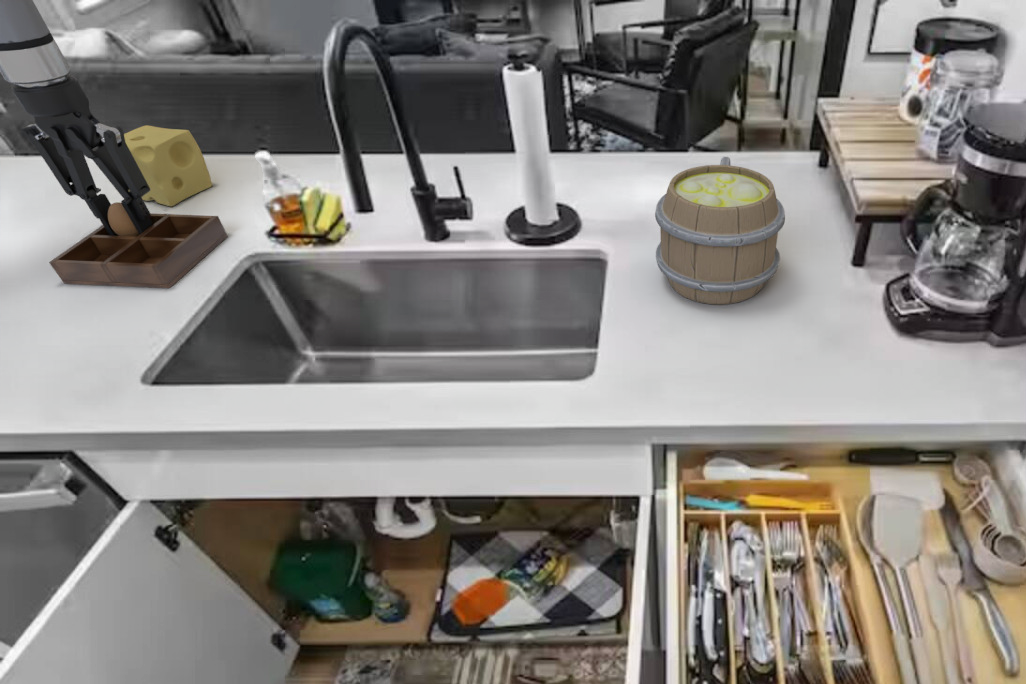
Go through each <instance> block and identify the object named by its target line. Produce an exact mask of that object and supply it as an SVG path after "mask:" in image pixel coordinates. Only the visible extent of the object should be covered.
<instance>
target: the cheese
mask: <svg viewBox="0 0 1026 684" xmlns="http://www.w3.org/2000/svg"><path fill="white" fill-rule="evenodd" d="M124 137H125V142H126V144H127V146H128V148H129V150H130V152H131V154H132V156H133V157H134V159H135V161H136V163H137V165H138V167H139V169H140V170H141V172H142V174H143V176H144V178H145V180H146V182H147V184H148V185H149V187H150V192H148V193H147V194H145V195H144V196H142V199H143V201H147V202H149V201H155V202H156V203H157V204H159V205H164V206H167V207H173V206H176V205H177V204H179V203H181V202H182V201H185V200H186V199H187V198H190V197H192V196H194V195H197V194H199V193H201V192H203V191H204V190H207V189H210V188H211V187H213V186H214V185H213V182H212V179H211V176H210V172H209V169H208V166H207V163H206V160H205V158H204V155H203V153H202V150H201V148H200V146H199V145H198V143H197V141H196V139H195V138H194V136H193V134H192V133H191V132H190V130H188V129H177V128H175V129H174V128H164V127H159V126H154V125H148V124H147V125H142V126H139V127H137V128H135V129H132V130H130V131H128V132H126V133H125V132H124ZM129 191H130V190H129Z"/></svg>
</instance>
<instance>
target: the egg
mask: <svg viewBox="0 0 1026 684" xmlns="http://www.w3.org/2000/svg"><path fill="white" fill-rule="evenodd" d="M108 221H109V224H110V226H111V228H112V229H113V231H114V232H115V233H116V234H118V235H119V236H133V237H137V236H139V235H140V234H139V233H138V231H137V229H136V228H135V226H134V224H133V222H132V221H131V219H130V217H129V216H128V214H127V212H126V211H125V209H124V207H123V205H122V204H121V201H120V202H112V203H111V205H110V207H109V209H108Z"/></svg>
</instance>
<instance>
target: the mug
mask: <svg viewBox="0 0 1026 684" xmlns="http://www.w3.org/2000/svg"><path fill="white" fill-rule="evenodd" d="M654 218H655V221H656V223H657V224H658V226H659V227H660V241H659V244H658V245H657V246H656V249H655V260H656V264H657V267H658V269H659V270H660V271H661V273H662V274H663V275H664V276H665V277H666V278H667V279H668V282H669V285H670V286H671V288H672V289H673V290H674V291H675V292H676V293H677V294H678V295H679V296H681V297H683V298H685V299H687V300H690V301H693V302H697V303H700V304H706V305H715V306H716V305H719V306H721V305H723V306H724V305H732V304H736V303H737V304H738V303H741V302H744V301H748V300H749V299H751V298H753V297H754V296H756V295H757V294H758V293H759V292H760V291H761V290H762V288H763V286H764V284H765V283H766V282H767V281H768V280H770V279H771V278H772V277H773V276H774V275H775V274H776V272H777V270H778V267H779V264H780V260H781V256H780V252H779V249H778V247H777V243H778V236H779V232H781V230H782V229H783V227H784V225H785V222H786V211H785V207H784V205H783V203H781V201H780V200H779V199H778V198H777V194H776V190H775V186H774V183H773V182H772V181H771V180H770V178H769V177H767V176H766V175H764V174H762V173H760V172H759V171H756V170H753V169H750V168H746V167H743V166H737V165H731V158H730V157H729V156H723V157H722V158H721V159H720V164H709V165H700V166H695V167H691V168H687V169H685V170H682V171H680V172H678V173H677V174H675V175H674V176H673V177H672V178H671V180H670V182H669V184H668V186H667V188H666V193H664V195H663V196H661V197H660V198H659V200H658V201H657V203H656V207H655V212H654Z"/></svg>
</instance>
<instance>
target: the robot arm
mask: <svg viewBox="0 0 1026 684" xmlns="http://www.w3.org/2000/svg"><path fill="white" fill-rule="evenodd" d="M37 7H38V6H37V5H36V3H35V2H34V0H0V74H1V77H3V79H4V81H6V82H8V83H10V84H11V85H10V90H11V92H12V93H13V94H14V96H15V98H16V99H17V101H18V102H19V104H20V106H21V107H22V109H23V110H24V112H25V113H27V114H28V115H29V116H32V117H33V119H34V122H33V123H31V124H29V125H27V126H25V127H22V128H21V131H20V132H21V133H22V134H23V135H24V136H25V137H26V138H27V139H28V140H29V142H30V143H32V145H33V146H34V147H35V149H36V151H38V153H39V154H40V156H41V158H42V159H43V161H44V162H45V164H46V165H47V167H48V168H49V170H50V171H51V173H52V175H53V176H54V177H55V179H56V180H57V182H58V183H59V185H60V186H61V188H62V189H63V191H64V192H65V194H67V195H68V196H70V197H72V196H77V197H79V198H80V199H81V200H83V201H84V202H85V203H86V205H87V206H88V209H89V210H90V211H91V213H92V215H93V216H94V217H95V218H96V219H99V221H100V222H101V224H102V225H104V227H105V229H106V230H107V232H108V234H109V235H110V236H119V235H118V234H116V233H115V232H114V231H113V229H112V228H111V226H110V224H109V221H108V209H109V207H110V205H111V204H112V203H111V201H110V200H109V198H108V197H107V195H106V194H105V193H100V192H101V191H102V188H99V187H97V185H96V182H95V180H94V178H93V175H92V172H91V170H90V167H89V165H88V162H87V160H86V158H88V159H90V160H92V161H93V163H94V164H95V165H96V166H97V168H98V169H99V170H100V171H101V173H102V174H103V175H104V176H105V178H106V179H107V180H108V182H110V184H111V185H112V186H113V187H114V189H115V190H116V191H117V192H118V193H119V195H120V196H121V197H122V199H121V201H120V203H121V204H122V205H123V207H124V209H125V211H126V212H127V214H128V216H129V217H130V219H131V221H132V222H133V224H134V226H135V228H136V229H137V231H138V233H139V234H141V233H143V232H144V231H145V230H147V229H148V228H149V227H151V226H152V225H153V223H152V221H151V220H150V217H151V214H150V213H151V211H150V210H149V208H148V207H147V205H146V203H145V200H143V199H142V196H144V195H145V194H147V193H148V192H150V187H149V185H148V184H147V182H146V180H145V178H144V176H143V174H142V172H141V170H140V169H139V167H138V165H137V163H136V161H135V159H134V157H133V156H132V154H131V152H130V150H129V148H128V146H127V144H126V142H125V137H124V134H125V132H124V129H123V128H122V127H121V126H119V125H114V126H112V127H111V126H108V125H106V124H103V123H101V121H100V120H99V119H98V118H97V117H96V116H95V115H94V114H93V113H92V111H91V109H90V100H89V98H88V96H87V94H86V92H85V91H84V89H83V87H82V86H81V84H80V82H79V80H78V78H77V77H76V76H74V75H72V74H71V71H72V68H71V67H70V64H69V63H68V62H67V60H66V57H65V55H64V54H63V53H62V51H61V49H60V47H59V46H58V45H59V44H58V43H57V42H56V39H54V38H55V37H54V36H53V34H52V33H51V31H50V29H49V27H48V25H47V23H46V21H45V19H44V18H43V16H42V14H41V12H40V11H39V9H38V8H37ZM129 190H130V191H129ZM98 193H99V194H98Z"/></svg>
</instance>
